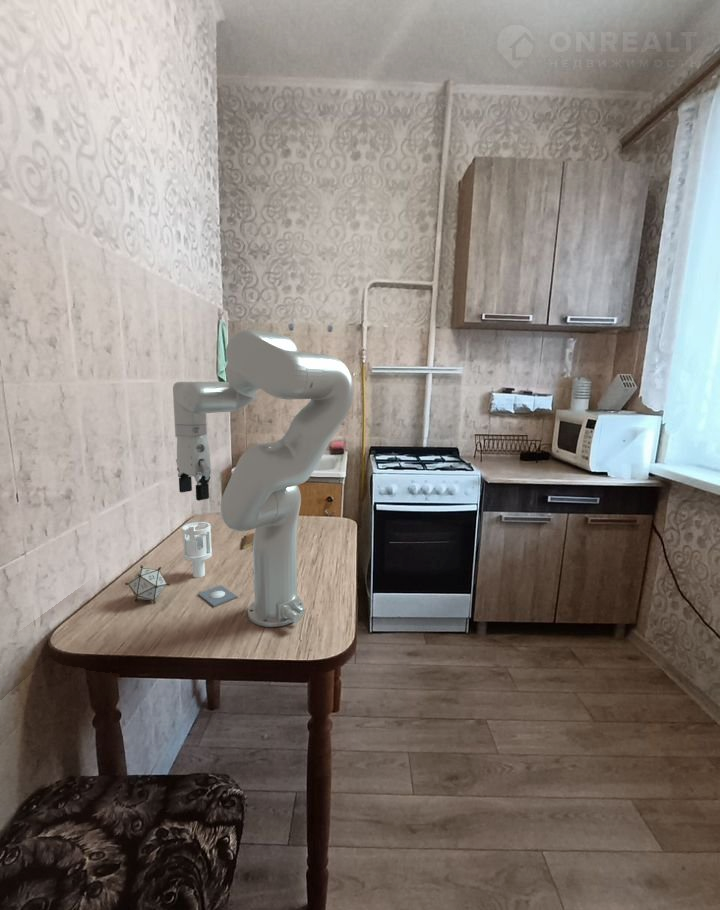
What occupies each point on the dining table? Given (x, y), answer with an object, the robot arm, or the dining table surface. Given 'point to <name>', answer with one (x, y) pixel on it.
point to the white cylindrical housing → (197, 546)
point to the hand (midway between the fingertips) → (194, 495)
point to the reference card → (217, 595)
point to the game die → (147, 584)
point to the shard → (248, 540)
